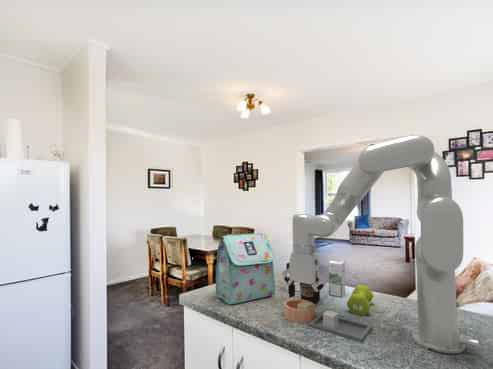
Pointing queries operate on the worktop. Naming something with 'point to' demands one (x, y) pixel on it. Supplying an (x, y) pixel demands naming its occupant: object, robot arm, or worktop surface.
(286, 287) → the medicine bottle
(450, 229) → the robot arm
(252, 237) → the lunch bag
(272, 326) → the worktop surface
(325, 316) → the grey sharp-edged block
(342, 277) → the clear bottle
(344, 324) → the tray
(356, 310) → the dumbbell
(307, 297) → the coffee cup
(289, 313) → the bowl
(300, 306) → the cream cube
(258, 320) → the worktop surface
